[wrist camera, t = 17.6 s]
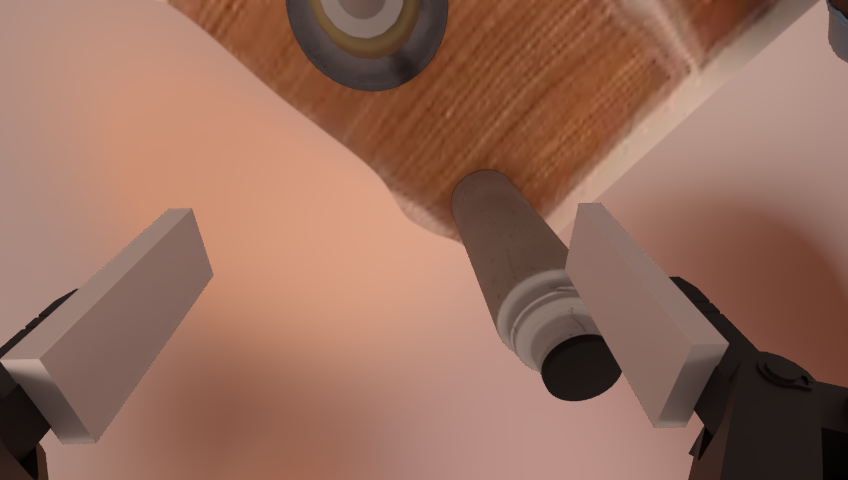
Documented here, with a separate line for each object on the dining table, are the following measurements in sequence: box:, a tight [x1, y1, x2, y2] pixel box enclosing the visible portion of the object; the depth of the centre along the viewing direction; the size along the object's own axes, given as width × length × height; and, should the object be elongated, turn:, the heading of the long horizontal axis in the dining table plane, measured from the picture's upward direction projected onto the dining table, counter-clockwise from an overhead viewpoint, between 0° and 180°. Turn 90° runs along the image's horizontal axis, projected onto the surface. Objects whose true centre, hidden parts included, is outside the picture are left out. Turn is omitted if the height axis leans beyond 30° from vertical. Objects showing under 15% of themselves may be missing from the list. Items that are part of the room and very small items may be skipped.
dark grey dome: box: [286, 0, 448, 91], centre depth 37 cm, size 15×15×5 cm
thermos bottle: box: [451, 170, 622, 401], centre depth 37 cm, size 8×8×28 cm
